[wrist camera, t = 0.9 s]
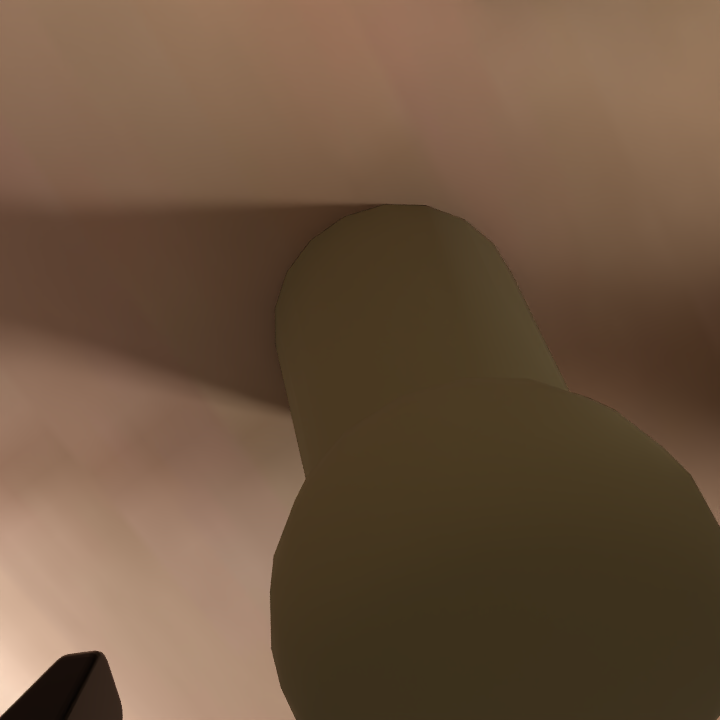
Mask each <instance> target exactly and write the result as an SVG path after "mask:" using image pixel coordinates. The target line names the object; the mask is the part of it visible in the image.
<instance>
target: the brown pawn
mask: <svg viewBox="0 0 720 720" xmlns="http://www.w3.org/2000/svg"><path fill="white" fill-rule="evenodd" d="M275 344H276V350H277V354H278V359H279V363H280V367H281V372H282V376H283V381H284V385H285V389H286V394H287V398H288V403H289V407H290V411H291V416H292V420H293V425H294V429H295V433H296V438H297V442H298V447H299V451H300V455H301V460H302V464H303V469H304V473H305V477H306V480H305V482H304V483H303V485H302V487H301V489H300V491H299V493H298V495H297V497H296V499H295V502H294V504H293V507H292V510H291V512H290V515H289V517H288V520H287V523H286V525H285V528H284V530H283V533H282V536H281V538H280V541H279V544H278V546H277V549H276V551H275V554H274V558H273V568H272V578H271V587H270V612H271V649H272V653H273V658H274V662H275V666H276V670H277V674H278V678H279V682H280V686H281V689H282V691H283V693H284V695H285V697H286V700H287V702H288V704H289V706H290V708H291V710H292V712H293V714H294V717H295V719H296V720H717V718H718V717H719V716H720V527H719V525H718V523H717V521H716V519H715V518H714V516H713V514H712V512H711V510H710V509H709V507H708V505H707V503H706V501H705V500H704V498H703V496H702V494H701V492H700V490H699V489H698V487H697V485H696V483H695V481H694V480H693V478H692V476H691V475H690V474H689V473H688V472H687V471H686V470H685V469H684V468H683V467H682V466H681V465H680V464H679V463H678V462H677V461H676V460H675V459H674V458H673V457H672V456H671V455H670V454H669V453H668V452H667V451H666V450H665V449H664V448H663V447H662V446H661V445H659V444H658V443H657V442H655V441H654V440H653V439H652V438H650V437H649V436H648V435H646V434H645V433H644V432H643V431H641V430H640V429H639V428H637V427H636V426H635V425H634V424H632V423H631V422H630V421H628V420H627V419H626V418H625V417H623V416H622V415H621V414H619V413H618V412H617V411H615V410H614V409H612V408H610V407H607V406H605V405H603V404H601V403H598V402H596V401H594V400H592V399H590V398H587V397H585V396H582V395H579V394H576V393H572V392H569V390H568V388H567V386H566V384H565V382H564V380H563V378H562V375H561V373H560V371H559V369H558V367H557V365H556V363H555V361H554V359H553V357H552V355H551V353H550V351H549V349H548V347H547V345H546V343H545V341H544V339H543V337H542V335H541V333H540V331H539V328H538V326H537V324H536V322H535V320H534V318H533V316H532V314H531V312H530V310H529V308H528V306H527V304H526V302H525V300H524V298H523V296H522V294H521V292H520V290H519V288H518V286H517V284H516V282H515V279H514V277H513V275H512V274H511V272H510V270H509V269H508V267H507V265H506V264H505V262H504V260H503V259H502V257H501V255H500V254H499V252H498V250H497V249H496V247H495V245H494V244H493V243H492V242H491V241H490V240H488V239H487V238H486V237H485V236H483V235H482V234H481V233H480V232H479V231H477V230H476V229H475V228H474V227H472V226H471V225H470V224H469V223H468V222H466V221H465V220H464V219H462V218H459V217H456V216H453V215H451V214H448V213H445V212H442V211H440V210H437V209H434V208H431V207H429V206H426V205H381V206H378V207H375V208H372V209H368V210H365V211H362V212H358V213H355V214H352V215H349V216H345V217H344V218H342V219H341V220H339V221H338V222H336V223H335V224H333V225H332V226H331V227H329V228H328V229H326V230H325V231H323V232H322V233H321V234H319V235H318V236H316V237H315V238H313V239H312V240H311V241H310V242H309V243H308V245H307V246H306V247H305V249H304V250H303V251H302V253H301V254H300V255H299V257H298V258H297V259H296V261H295V262H294V263H293V265H292V266H291V267H290V269H289V270H288V271H287V274H286V277H285V280H284V283H283V286H282V289H281V292H280V295H279V298H278V301H277V304H276V307H275Z"/></svg>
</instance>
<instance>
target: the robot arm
mask: <svg viewBox="0 0 720 720" xmlns="http://www.w3.org/2000/svg"><path fill="white" fill-rule="evenodd" d="M0 720H123V715H122V705H121V701H120V698H119V695H118V692H117V689H116V685H115V682H114V679H113V676H112V673H111V670H110V667H109V664H108V661H107V659H106V657H105V655H104V654H103V653H102V652H99V651H89V652H81V653H73V654H67V655H64V656H62V657H61V658H59V659H58V660H57V661H56V662H55V663H54V664H53V665H52V666H51V667H50V668H49V669H48V670H47V671H46V672H45V673H44V674H43V675H42V676H41V677H40V678H39V679H38V680H37V681H36V682H35V683H34V684H33V685H32V686H31V687H30V688H29V689H28V690H27V691H26V692H25V693H24V694H23V695H22V696H21V697H20V698H19V699H18V700H17V701H16V702H15V703H14V704H13V705H12V706H11V707H10V708H9V709H8V710H7V711H6V712H5V713H4V714H3V715H2V716H1V717H0Z"/></svg>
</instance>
